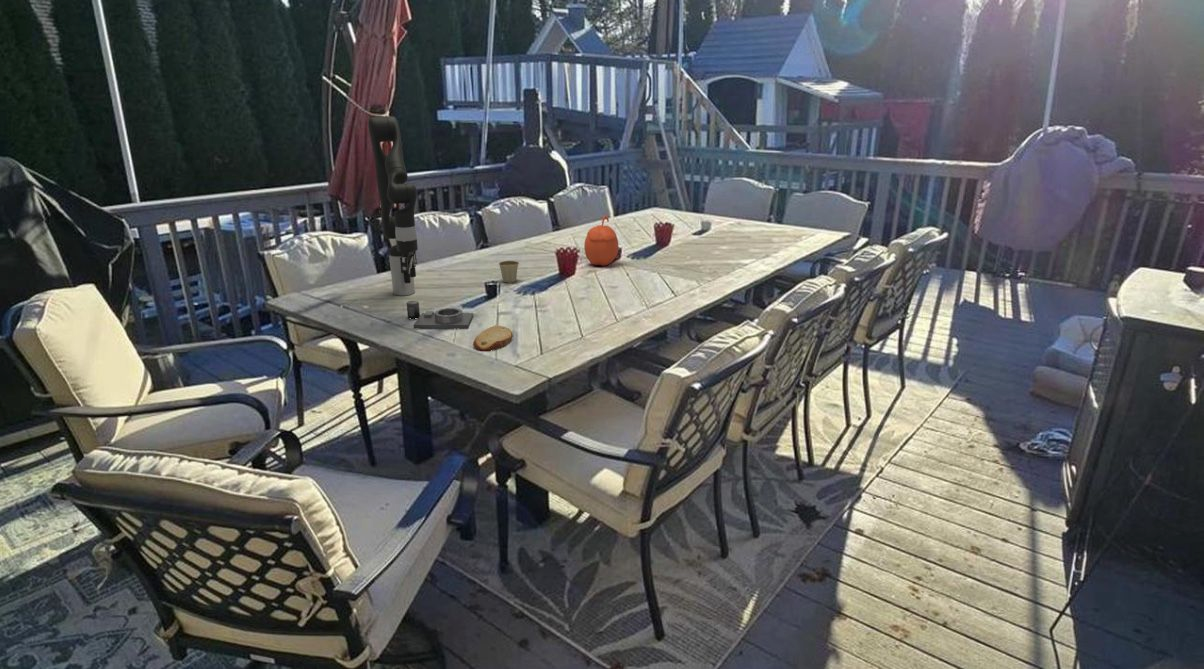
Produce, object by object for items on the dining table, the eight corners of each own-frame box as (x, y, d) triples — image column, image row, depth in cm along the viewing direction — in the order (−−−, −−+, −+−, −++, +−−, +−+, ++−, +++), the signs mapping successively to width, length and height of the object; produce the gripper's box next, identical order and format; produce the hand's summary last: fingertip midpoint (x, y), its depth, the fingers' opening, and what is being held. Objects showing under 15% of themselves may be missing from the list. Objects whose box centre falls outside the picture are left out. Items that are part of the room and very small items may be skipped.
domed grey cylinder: (409, 314, 257) (408, 299, 255) (421, 314, 257) (420, 299, 255) (406, 320, 251) (404, 304, 249) (418, 320, 251) (416, 304, 249)
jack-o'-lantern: (606, 258, 346) (607, 211, 337) (625, 265, 333) (626, 217, 324) (577, 263, 336) (577, 215, 327) (596, 270, 323) (596, 220, 314)
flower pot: (495, 280, 304) (494, 262, 301) (512, 277, 310) (511, 259, 307) (506, 285, 298) (505, 266, 295) (523, 281, 303) (523, 263, 300)
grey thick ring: (438, 315, 252) (437, 307, 251) (464, 315, 252) (463, 307, 251) (433, 324, 243) (432, 315, 241) (460, 324, 243) (459, 315, 242)
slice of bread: (503, 329, 244) (503, 319, 242) (527, 343, 230) (526, 333, 229) (458, 338, 234) (458, 328, 233) (480, 354, 220) (480, 344, 219)
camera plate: (422, 316, 255) (421, 310, 254) (473, 316, 256) (473, 310, 255) (413, 328, 242) (413, 321, 241) (467, 328, 243) (467, 321, 242)
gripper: (401, 234, 250) (405, 275, 255) (391, 242, 236) (395, 285, 242) (420, 234, 250) (424, 275, 255) (411, 242, 237) (415, 285, 242)
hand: (410, 280), depth 249 cm, fingers open, 8 cm apart
